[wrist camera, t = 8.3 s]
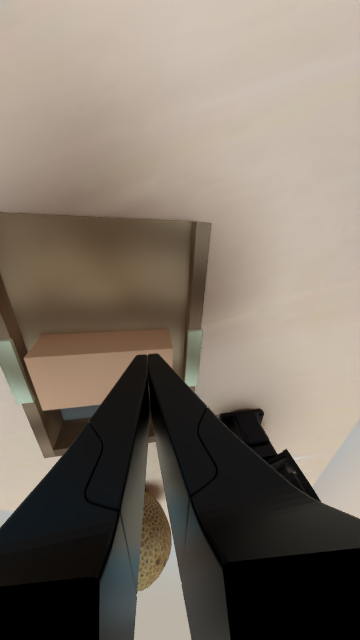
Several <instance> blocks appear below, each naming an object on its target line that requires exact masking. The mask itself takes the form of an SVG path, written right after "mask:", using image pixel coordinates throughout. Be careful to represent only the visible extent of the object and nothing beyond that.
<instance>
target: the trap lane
mask: <svg viewBox="0 0 360 640" xmlns="http://www.w3.org/2000/svg"><path fill="white" fill-rule="evenodd" d="M210 233H211V223H206V222H194V221H173V220H151V219H130V218H109V217H87V216H66V215H45V214H23V213H2V212H0V366H1V368H2V371H3V373H4V375H5V377H6V380H7V382H8V384H9V387H10V389H11V391H12V393H13V396H14V398H15V400H16V403H17V404H22V406H23V409H24V411H25V413H26V416H27V418H28V420H29V423H30V425H31V427H32V430H33V432H34V435H35V437H36V439H37V442H38V444H39V446H40V449H41V451H42V454H43V456H44V458H48V457H55V456H62V455H63V454H64V453H65V452H66V451H67V449H68V448H69V447H70V446H71V444H72V443H73V442H74V440H75V439H76V438H77V436H78V435H79V434H80V432H81V431H82V430H83V428H84V427H85V425H86V424H87V423H89V420H90V419H91V417H92V416H93V414H94V413H95V412H96V410H97V409H98V407H99V406H100V405H92V406H82V407H73V408H64V409H54V410H45V411H43V410H42V408H41V405H40V402H39V399H38V397H37V394H36V391H35V388H34V385H33V383H32V380H31V377H30V374H29V372H28V369H27V366H26V363H25V361H24V357H25V356H26V355H27V353H28V352H29V351H30V350H31V348H32V347H33V346H34V345H35V343H36V342H37V341H38V340H39V338H40V337H41V336H42V335H53V334H74V333H96V332H117V331H138V330H160V329H168V331H169V335H170V339H171V343H172V347H173V362H172V369H173V370H174V371H175V372H176V373H177V374H178V375H179V376H180V378H181V379H182V380H183V381H184V382H185V383H186V384H187V385H188V386H189V387H190V388H191V389H192V391H193V392H194V390H195V386H197V380H198V371H199V362H200V353H201V343H202V334H203V330H202V329H201V321H202V311H203V302H204V292H205V282H206V272H207V262H208V253H209V243H210ZM151 442H156V441H155V436H154V430H153V425H152V419H151V412H150V424H149V438H148V443H151Z"/></svg>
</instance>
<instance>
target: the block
mask: <svg viewBox="0 0 360 640" xmlns="http://www.w3.org/2000/svg"><path fill="white" fill-rule="evenodd" d="M155 353H158V354H159V355H160V356H161V357H162V358H163V359H164V360H165V361H166V362H167V363H168V365H169V366H170V367H171V368H172V362H173V347H172V343H171V339H170V335H169V331H168V329H160V330H138V331H117V332H96V333H74V334H53V335H42V336H41V337H40V338H39V340H38V341H37V342H36V343H35V345H34V346H33V347H32V348H31V350H30V351H29V352H28V353H27V355H26V356H25V357H24V361H25V363H26V366H27V369H28V372H29V374H30V377H31V380H32V383H33V385H34V388H35V391H36V394H37V397H38V399H39V402H40V405H41V408H42V410H43V411H45V410H54V409H64V408H73V407H82V406H92V405H101V403H102V402H103V401H104V399H105V398H106V396H107V395H108V394H109V392H110V391H111V389H112V388H113V387H114V385H115V384H116V382H117V381H118V380H119V378H120V377H121V376H122V374H123V373H124V371H125V370H126V369H127V367H128V366H129V364H130V363H131V362H132V360H133V359H134V357H135V356H136V355H142V354H146V355H147V359H148V354H155ZM149 398H150V396H149Z"/></svg>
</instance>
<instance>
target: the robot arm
mask: <svg viewBox="0 0 360 640" xmlns="http://www.w3.org/2000/svg"><path fill="white" fill-rule="evenodd" d="M149 396H150V398H149ZM150 412H151V419H152V425H153V430H154V436H155V441H156V447H157V452H158V458H159V463H160V469H161V474H162V479H163V485H164V490H165V496H166V501H167V507H168V512H169V518H170V523H171V529H172V534H173V540H174V545H175V550H176V556H177V561H178V567H179V573H180V578H181V582H182V589H183V595H184V600H185V606H186V611H187V617H188V622H189V628H190V633H191V639H192V640H360V519H359V518H357V517H354V516H352V515H350V514H347V513H345V512H342V511H340V510H338V509H335V508H333V507H330V506H328V505H326V504H323V503H321V501H320V499H319V498H318V496H317V494H316V493H315V491H314V490H313V488H312V487H311V485H310V483H309V482H308V480H307V479H306V477H305V476H304V474H303V473H302V471H301V470H300V468H299V467H298V465H297V464H296V462H295V461H294V459H293V458H292V456H291V455H290V453H289V452H288V450H287V449H285V450H283V452H281V453H279V454H277V453H276V451H275V449H274V447H273V446H272V444H271V442H270V441H269V438H268V436H267V434H266V433H265V431H264V429H263V428H262V426H261V422H262V419H263V416H264V412H263V411H262V410H253V411H245V412H237V413H230V414H223V415H221V416H220V419H219V418H218V417H217V416H216V415H215V414H214V413H213V412H212V411H211V410H210V409H209V408H207V406H206V405H205V404H204V402H203V401H202V400H201V399H200V398H199V397H198V396H197V395H196V394H195V393H194V392H193V391H192V389H191V388H190V387H189V386H188V385H187V384H186V383H185V382H184V381H183V380H182V379H181V378H180V376H179V375H178V374H177V373H176V372H175V371H174V370H173V369H172V368H171V367H170V366H169V365H168V363H167V362H166V361H165V360H164V359H163V358H162V357H161V356H160V355H159V354H158V353H155V354H148V359H147V355H146V354H142V355H136V356H135V357H134V359H133V360H132V362H131V363H130V364H129V366H128V367H127V369H126V370H125V371H124V373H123V374H122V376H121V377H120V378H119V380H118V381H117V382H116V384H115V385H114V387H113V388H112V389H111V391H110V392H109V394H108V395H107V396H106V398H105V399H104V401H103V402H102V403H101V405H100V406H99V407H98V409H97V410H96V412H95V413H94V414H93V416H92V417H91V419H90V420H89V423H87V424H86V425H85V427H84V428H83V430H82V431H81V432H80V434H79V435H78V436H77V438H76V439H75V440H74V442H73V443H72V444H71V446H70V447H69V448H68V449H67V451H66V452H65V453H64V454H63V456H62V457H61V458H60V459H59V460H58V462H57V463H56V464H55V465H54V466H53V468H52V469H51V470H50V471H49V472H48V474H47V475H46V476H45V477H44V478H43V479H42V480H41V482H40V483H39V484H38V485H37V486H36V487H35V488H34V490H33V491H32V492H31V493H30V494H29V495H28V496H27V498H26V499H25V500H24V501H23V502H22V503H21V505H20V506H19V507H18V508H17V509H16V510H15V511H14V513H13V514H12V515H11V516H10V517H9V518H8V519H7V521H6V522H5V523H4V524H3V525H2V526H1V527H0V640H134V629H135V615H136V602H137V601H136V600H137V596H136V594H137V588H138V574H139V561H140V547H141V533H142V520H143V506H144V492H145V479H146V465H147V451H148V438H149V424H150ZM293 472H294V473H293Z"/></svg>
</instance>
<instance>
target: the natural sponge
mask: <svg viewBox="0 0 360 640" xmlns="http://www.w3.org/2000/svg"><path fill="white" fill-rule="evenodd" d="M170 551H171V530H170V526H169V523H168V520H167V517H166V515H165V513H164V511H163V509H162V507H161V505H160V504H159V502H158V501H157V500H156V498H155V497H154V496H153V495H151V494H150V493H148V492H146V491H145V492H144V506H143V520H142V533H141V547H140V561H139V574H138V588H137V591H142V590H144V589H146V588H148V587H149V586H150V585H151V584H152V583H153V582H154V581H155V580H156V579H157V578H158V577H159V575H160V574H161V572H162V570H163V568H164V567H165V565H166V563H167V561H168V558H169V555H170Z"/></svg>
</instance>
